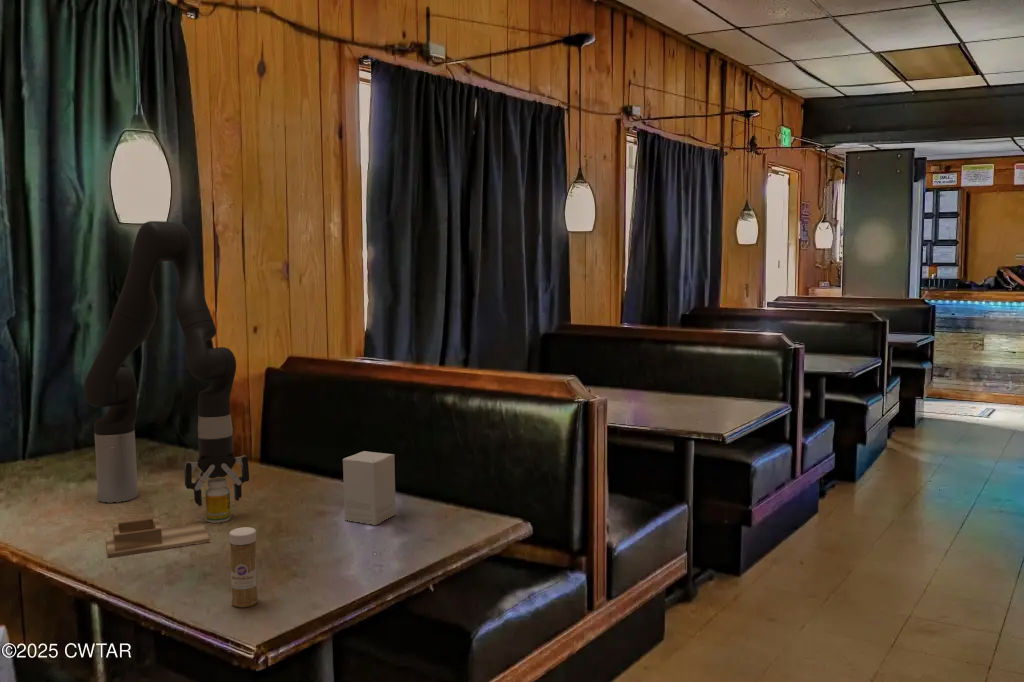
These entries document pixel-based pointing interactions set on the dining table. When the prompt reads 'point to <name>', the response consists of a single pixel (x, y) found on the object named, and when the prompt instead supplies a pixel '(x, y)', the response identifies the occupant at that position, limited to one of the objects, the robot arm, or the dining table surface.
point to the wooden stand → (151, 537)
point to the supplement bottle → (217, 501)
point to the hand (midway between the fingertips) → (218, 502)
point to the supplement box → (369, 487)
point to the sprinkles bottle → (243, 566)
